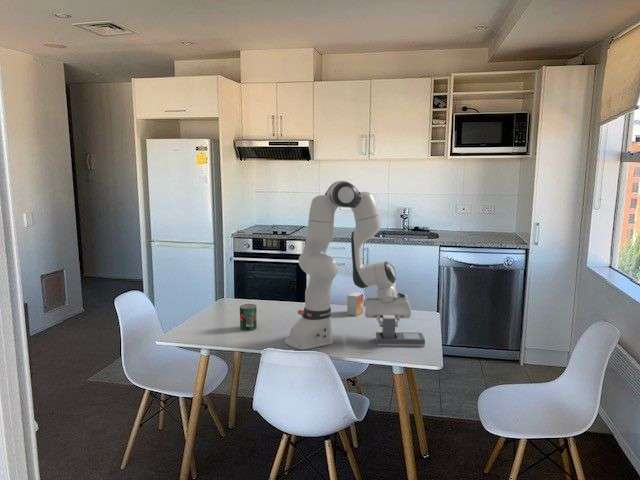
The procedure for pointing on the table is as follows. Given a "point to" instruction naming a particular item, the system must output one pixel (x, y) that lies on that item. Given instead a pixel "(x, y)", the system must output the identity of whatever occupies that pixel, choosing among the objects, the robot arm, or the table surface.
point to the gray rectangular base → (401, 339)
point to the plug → (388, 326)
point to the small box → (355, 304)
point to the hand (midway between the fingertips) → (388, 326)
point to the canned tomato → (248, 317)
